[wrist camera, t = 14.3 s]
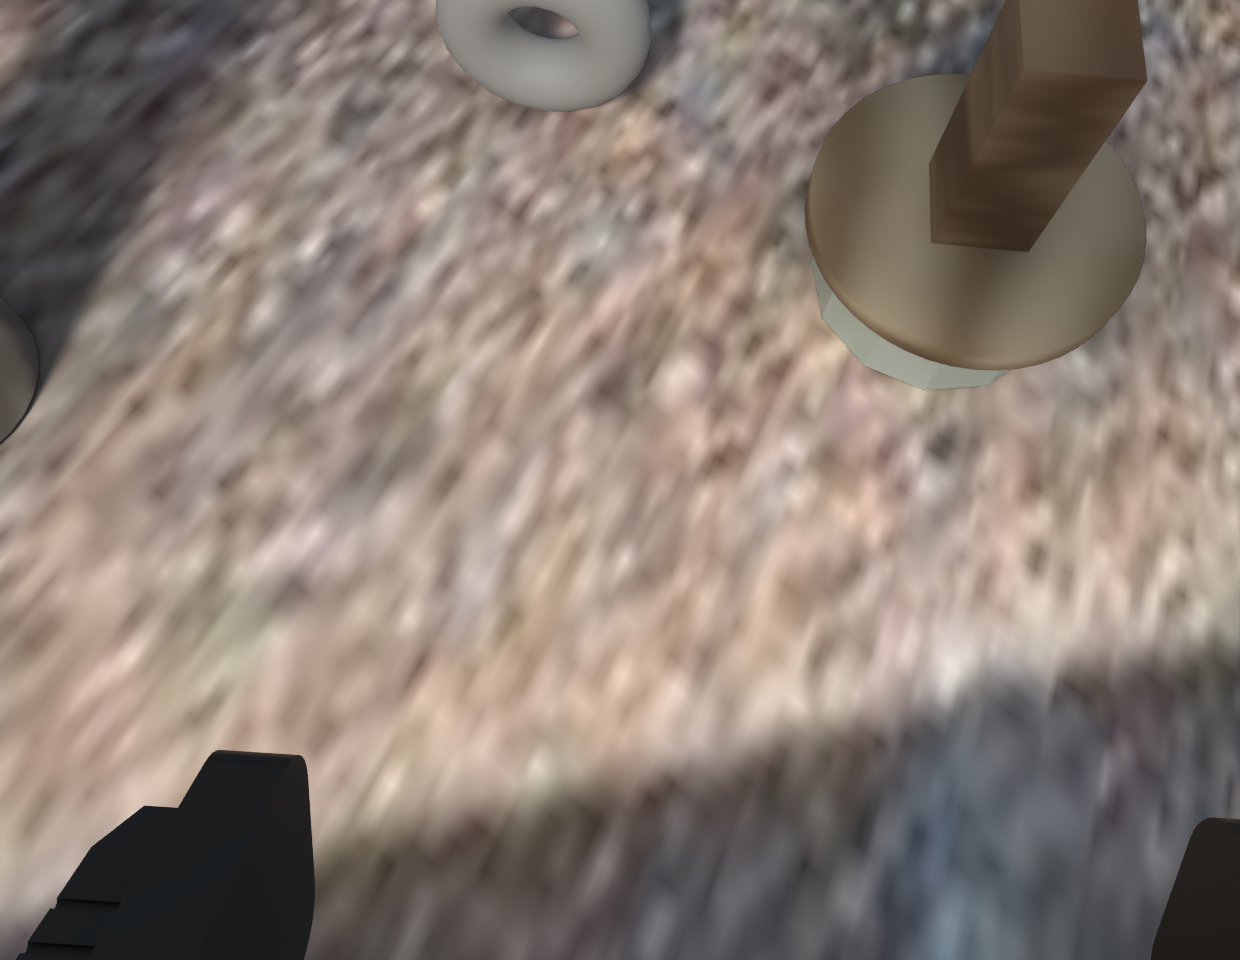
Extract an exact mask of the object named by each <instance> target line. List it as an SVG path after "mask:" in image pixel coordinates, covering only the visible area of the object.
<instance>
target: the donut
mask: <svg viewBox="0 0 1240 960" xmlns="http://www.w3.org/2000/svg"><path fill="white" fill-rule="evenodd" d="M521 7H538V8H542V9H546V10H550V11H553V12H555V13H557V14H559V15H561V16H563V17H565V18H566V19H567V20H568V21H569V22H571V23H572V24H573V25H574V26H575V28H576V29H577V31H578V34H576V35H574V36H573V37H569V38H565V39H550V38H546V37H542V36H538V35H535V34H533V33H531V32H529V31H527V30H525V29H523V28H522V27H521V26H520V25H518V24H517V23H516V22H515V21H514V20H513V18H512V17H511V15H510V14H509V12H510V11H511V10H513V9H517V8H521ZM436 20H437V23H438V26H439V29H440V31H441V34H442V37H443V39H444V42H445V45H446V48H447V50H448V51H449V53H450V54H451V55H452V56H453V58H454V59H455V60H456V62H457V63H458V64H459V65H460V67H461V68H462V69H463V70H464V72H465V73H466V74H468V75H469V76H470V77H471V78H473V79H474V80H475V81H476V82H478V83H479V84H480V85H482V86H483V87H484V88H485V89H487V90H488V91H489V92H491V93H493V94H495V95H497V96H499V97H501V98H503V99H506V100H508V101H510V102H512V103H514V104H517V105H521V106H525V107H529V108H533V109H537V110H541V111H559V112H571V111H576V110H580V109H585V108H590V107H595V106H599V105H601V104H603V103H605V102H606V101H608V100H610V99H612V98H614V97H616V96H618V95H619V94H621V93H622V92H623V91H624V90H625V89H626V88H627V87H628V86H629V85H630V83H631V82H632V81H633V80H634V79H635V78H636V76H637V75H638V74H639V73H640V72H641V71H642V68H643V66H644V63H645V60H646V57H647V53H648V50H649V47H650V43H651V40H652V29H651V21H650V14H649V6H648V2H647V0H436Z"/></svg>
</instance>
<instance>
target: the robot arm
mask: <svg viewBox="0 0 1240 960" xmlns="http://www.w3.org/2000/svg"><path fill="white" fill-rule="evenodd" d="M37 378H38V353H37V349H36V346H35V342H34V339H33V336H32V334H31V333H30V331H29V330H28V328H27V326H26V325H25V323H24V321H23V320H22V319H21V318H20V317H19V316H18V315H17V314H16V313H15V312H14V311H13V310H12V309H11V308H10V307H9V306H8V305H7V304H6V303H5V302H4V301H3V299H2V298H1V297H0V442H1V441H2V440H3V439H4V438H5V437H6V436H7V435H9V434H10V433H11V431H12V430H13V429H14V427H15V426H16V425H17V423H18V422H19V421H20V419H21V418H22V417H23V415H24V414H25V412H26V410H27V407H28V405H29V403H30V401H31V399H32V397H33V395H34V391H35V387H36V382H37ZM314 901H315V878H314V862H313V847H312V831H311V816H310V801H309V785H308V773H307V767H306V763H305V760H304V758H303V757H302V756H300V755H289V754H274V753H258V752H243V751H228V750H217V751H215V752H213V753H212V754H211V755H210V756H209V757H208V759H207V760H206V762H205V763H204V765H203V767H202V768H201V770H200V772H199V773H198V775H197V777H196V778H195V780H194V782H193V783H192V785H191V787H190V788H189V790H188V792H187V793H186V795H185V797H184V799H183V800H182V802H181V804H180V805H179V807H178V808H171V807H156V806H143V807H142V808H141V809H139V810H138V811H137V812H136V813H134V814H133V815H132V816H131V817H129V818H128V819H127V820H125V821H124V822H123V823H122V824H120V825H119V826H118V827H116V828H115V829H114V830H113V831H111V832H110V833H109V834H107V835H106V836H105V837H104V838H102V839H101V840H100V841H98V842H97V843H96V844H95V845H93V846H92V847H91V848H90V850H89V851H88V853H87V854H86V856H85V857H84V859H83V860H82V862H81V863H80V865H79V866H78V868H77V869H76V871H75V872H74V874H73V875H72V877H71V878H70V880H69V881H68V883H67V884H66V886H65V887H64V889H63V890H62V891H61V893H60V894H59V896H58V897H57V904H56V907H55V909H49V911H48V912H47V914H46V915H45V917H44V918H43V920H42V921H41V923H40V924H39V926H38V927H37V929H36V930H35V932H34V933H33V935H32V936H31V938H30V939H29V941H28V947H27V950H26V952H25V953H20V954H19V955H18V957H17V958H16V960H303V959H304V956H305V953H306V949H307V945H308V941H309V937H310V932H311V926H312V920H313V912H314ZM1151 960H1240V819H1227V818H1207V819H1205V820H1203V821H1201V822H1200V823H1199V824H1198V825H1197V826H1196V828H1195V829H1194V831H1193V833H1192V835H1191V838H1190V840H1189V843H1188V846H1187V849H1186V852H1185V854H1184V857H1183V860H1182V863H1181V866H1180V869H1179V872H1178V874H1177V877H1176V880H1175V883H1174V886H1173V889H1172V891H1171V894H1170V897H1169V900H1168V903H1167V906H1166V908H1165V911H1164V914H1163V917H1162V920H1161V923H1160V926H1159V928H1158V931H1157V934H1156V937H1155V940H1154V944H1153V948H1152V955H1151Z"/></svg>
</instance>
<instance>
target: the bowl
mask: <svg viewBox="0 0 1240 960" xmlns="http://www.w3.org/2000/svg"><path fill="white" fill-rule="evenodd" d="M812 267H813V272H814V278H815V283H816V288H817V294H818V299H819V304H820V310H821V315H822V319H823V320H824V321H825V322H826V323H827V324H828V326H829V327H830V328H831V329H832V330H833V331H834V332H835V334H836V335H837V336H838V337H839V338H840V339H841V340H842V342H843V343H844V344H845V345H846V346H847V347H848V348H849V350H850V351H851V352H852V353H853V354H854V355H855V356H856V358H857V359H858V360H859V361H860V362H861V363H862V364H863V365H864V366H867V367H869V368H872V369H874V370H876V371H879V372H881V373H884V374H886V375H889V376H891V377H893V378H896V379H898V380H901V381H903V382H906V383H908V384H910V385H913V386H915V387H918V388H920V389H923V390H934V389H948V388H962V387H976V386H988V385H989V384H991V383H992V382H994V381H995V380H997V379H998V378H999V377H1001V376H1002V375H1004V374H1005V373H1007V372H1008V371H1010V370H1011V369H1009V370H997V371H995V370H972V369H966V368H959V367H952V366H948V365H945V364H941V363H937V362H933V361H930V360H927V359H924V358H922V357H919V356H917V355H914V354H912V353H909V352H907V351H905V350H903V349H901V348H899V347H897V346H895V345H893V344H892V343H890V342H888V341H886V340H885V339H883V338H882V337H880V336H879V335H877V334H876V333H874V332H873V331H871V330H870V329H869V328H867V327H866V326H865V325H864V324H863V323H862V322H860V321H859V320H858V319H857V318H856V317H855V316H853V315H852V314H851V313H850V312H849V310H848V309H847V308H846V307H845V306H844V305H843V304H842V303H841V302H840V301H839V299H838V298H837V297H836V296H835V294H834V293H833V291H832V290H831V289H830V287H829V286H828V284H827V283H826V281H825V280H824V278H823V276H822V274H821V272H820V270H819V268H818V266H817V264H816V262H815V259H813V261H812Z"/></svg>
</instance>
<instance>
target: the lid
mask: <svg viewBox="0 0 1240 960" xmlns="http://www.w3.org/2000/svg"><path fill="white" fill-rule="evenodd" d="M1146 82H1147V75H1146V66H1145V58H1144V50H1143V42H1142V34H1141V25H1140V17H1139V9H1138V1H1137V0H1006V2H1005V4H1004V6H1003V8H1002V10H1001V12H1000V14H999V16H998V19H997V21H996V23H995V25H994V27H993V29H992V31H991V33H990V36H989V38H988V40H987V42H986V44H985V46H984V48H983V50H982V52H981V55H980V57H979V59H978V61H977V63H976V65H975V67H974V69H973V71H972V74H971V75H969V74H940V75H929V76H923V77H918V78H912V79H908V80H905V81H902V82H898V83H895V84H892V85H890V86H888V87H885V88H883V89H881V90H878V91H876V92H874V93H873V94H871V95H869V96H868V97H866V98H864V99H863V100H861V101H860V102H858V103H857V104H856V105H855V106H853V107H852V108H851V109H850V110H849V111H847V112H846V113H845V114H844V115H843V116H842V117H841V119H840V120H839V121H838V122H837V123H836V124H835V125H834V126H833V128H832V129H831V131H830V132H829V134H828V135H827V137H826V138H825V140H824V142H823V144H822V146H821V148H820V151H819V153H818V155H817V158H816V161H815V164H814V167H813V170H812V173H811V177H810V181H809V184H808V188H807V192H806V201H805V224H806V231H807V236H808V241H809V246H810V248H811V251H812V254H813V257H814V259H815V262H816V264H817V266H818V268H819V270H820V272H821V274H822V276H823V278H824V280H825V281H826V283H827V284H828V286H829V287H830V289H831V290H832V291H833V293H834V294H835V296H836V297H837V298H838V299H839V301H840V302H841V303H842V304H843V305H844V306H845V307H846V308H847V309H848V310H849V312H850V313H851V314H852V315H853V316H855V317H856V318H857V319H858V320H859V321H860V322H862V323H863V324H864V325H865V326H866V327H867V328H869V329H870V330H871V331H873V332H874V333H876V334H877V335H879V336H880V337H882V338H883V339H885V340H886V341H888V342H890V343H892V344H893V345H895V346H897V347H899V348H901V349H903V350H905V351H907V352H909V353H912V354H914V355H917V356H919V357H922V358H924V359H927V360H930V361H933V362H937V363H941V364H945V365H948V366H952V367H959V368H966V369H972V370H995V371H997V370H1009V369H1020V368H1024V367H1029V366H1034V365H1038V364H1042V363H1044V362H1047V361H1050V360H1053V359H1056V358H1059V357H1061V356H1063V355H1064V354H1066V353H1068V352H1070V351H1072V350H1074V349H1076V348H1078V347H1079V346H1080V345H1082V344H1083V343H1085V342H1086V341H1087V340H1089V339H1090V338H1091V337H1093V336H1094V335H1095V334H1096V333H1097V332H1098V331H1099V330H1100V329H1101V328H1102V327H1103V326H1104V325H1105V324H1106V323H1107V322H1108V321H1109V319H1110V318H1111V317H1112V316H1113V315H1114V314H1115V313H1116V312H1117V311H1118V310H1119V309H1120V307H1121V306H1122V304H1123V303H1124V302H1125V300H1126V299H1127V298H1128V296H1129V295H1130V293H1131V291H1132V289H1133V287H1134V285H1135V283H1136V281H1137V279H1138V277H1139V274H1140V271H1141V268H1142V264H1143V261H1144V256H1145V248H1146V222H1145V216H1144V211H1143V206H1142V202H1141V199H1140V196H1139V193H1138V191H1137V188H1136V185H1135V183H1134V181H1133V179H1132V177H1131V175H1130V173H1129V171H1128V169H1127V168H1126V166H1125V165H1124V163H1123V162H1122V160H1121V159H1120V157H1119V156H1118V154H1117V153H1116V151H1115V150H1114V149H1113V148H1112V147H1111V146H1110V144H1109V143H1108V142H1107V141H1106V140H1107V138H1108V137H1109V135H1110V134H1111V132H1112V131H1113V129H1114V128H1115V127H1116V125H1117V124H1118V122H1119V121H1120V119H1121V118H1122V116H1123V115H1124V114H1125V112H1126V111H1127V109H1128V108H1129V106H1130V105H1131V103H1132V102H1133V101H1134V99H1135V98H1136V96H1137V95H1138V93H1139V92H1140V90H1141V89H1142V88H1143V86H1144V85H1145V83H1146Z"/></svg>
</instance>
